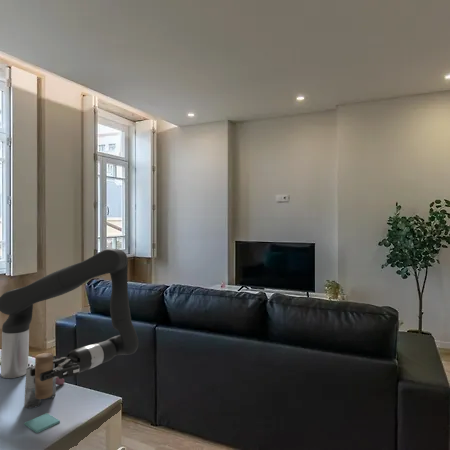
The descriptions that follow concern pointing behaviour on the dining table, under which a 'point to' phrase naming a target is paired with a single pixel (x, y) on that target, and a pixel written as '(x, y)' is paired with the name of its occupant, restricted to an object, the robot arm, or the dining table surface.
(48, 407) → the dining table surface
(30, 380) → the silver tall tapered cylinder
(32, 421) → the teal mat
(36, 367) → the cylinder
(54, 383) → the shiny grey metal cylinder
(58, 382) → the video game controller
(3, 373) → the robot arm
